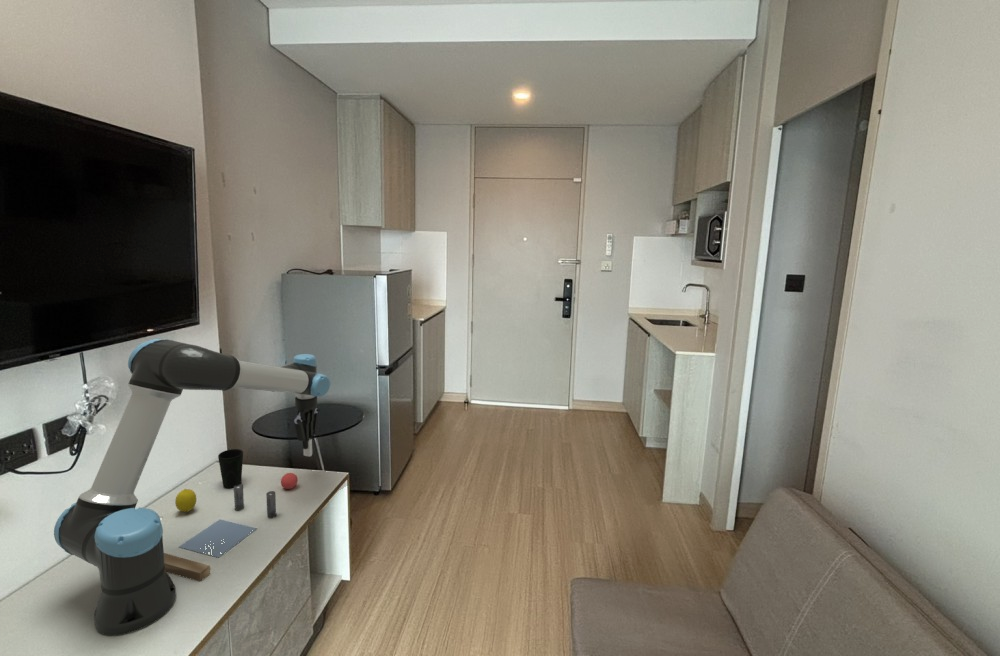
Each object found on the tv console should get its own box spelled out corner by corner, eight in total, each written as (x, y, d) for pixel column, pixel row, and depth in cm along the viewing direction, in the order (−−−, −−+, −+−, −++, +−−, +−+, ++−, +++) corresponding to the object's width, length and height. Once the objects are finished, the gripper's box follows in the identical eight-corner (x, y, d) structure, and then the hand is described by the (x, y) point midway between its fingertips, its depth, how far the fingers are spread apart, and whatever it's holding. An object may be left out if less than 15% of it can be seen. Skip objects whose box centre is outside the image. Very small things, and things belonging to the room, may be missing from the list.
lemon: (201, 508, 148) (199, 485, 147) (188, 517, 143) (186, 494, 141) (185, 506, 149) (183, 483, 147) (171, 516, 143) (170, 492, 142)
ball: (290, 493, 160) (290, 478, 159) (277, 490, 161) (277, 476, 160) (301, 485, 165) (300, 471, 164) (288, 482, 166) (287, 469, 165)
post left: (239, 511, 148) (238, 488, 146) (232, 509, 148) (231, 487, 147) (245, 507, 150) (244, 484, 149) (239, 505, 151) (238, 483, 149)
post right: (272, 518, 145) (271, 495, 143) (265, 517, 145) (264, 494, 144) (278, 514, 147) (277, 491, 146) (271, 512, 148) (270, 490, 146)
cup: (221, 481, 165) (219, 450, 163) (245, 478, 168) (243, 447, 166) (218, 492, 158) (216, 460, 156) (243, 488, 161) (242, 456, 159)
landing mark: (218, 558, 126) (218, 557, 126) (178, 547, 129) (178, 546, 129) (257, 528, 139) (257, 528, 139) (219, 519, 143) (219, 519, 143)
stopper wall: (200, 581, 117) (199, 573, 117) (140, 564, 122) (139, 556, 121) (210, 573, 120) (209, 565, 119) (151, 557, 125) (150, 549, 124)
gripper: (308, 389, 174) (310, 446, 178) (285, 400, 162) (287, 461, 166) (325, 391, 172) (327, 449, 177) (303, 403, 160) (305, 464, 164)
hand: (307, 455), depth 171 cm, fingers closed
